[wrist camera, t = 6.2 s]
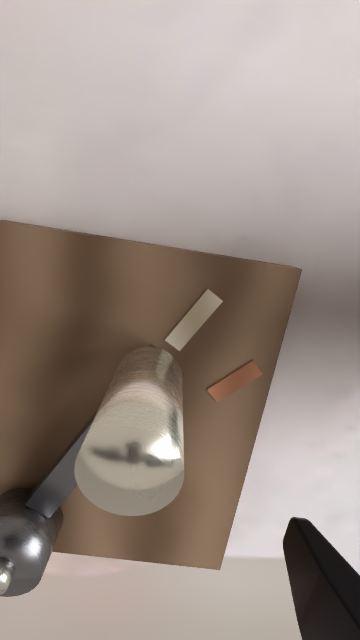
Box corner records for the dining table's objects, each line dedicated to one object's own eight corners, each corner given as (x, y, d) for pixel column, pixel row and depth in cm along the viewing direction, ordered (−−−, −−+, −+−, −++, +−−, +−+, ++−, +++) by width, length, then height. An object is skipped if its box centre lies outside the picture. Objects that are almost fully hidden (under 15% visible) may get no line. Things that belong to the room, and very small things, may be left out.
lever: (41, 551, 19) (-37, 730, 12) (-20, 520, 18) (-140, 692, 11) (202, 368, 15) (222, 476, 9) (135, 319, 15) (96, 395, 8)
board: (293, 266, 16) (302, 269, 14) (217, 551, 21) (219, 571, 20) (-157, 194, 14) (-189, 190, 13) (-106, 515, 20) (-125, 534, 19)
